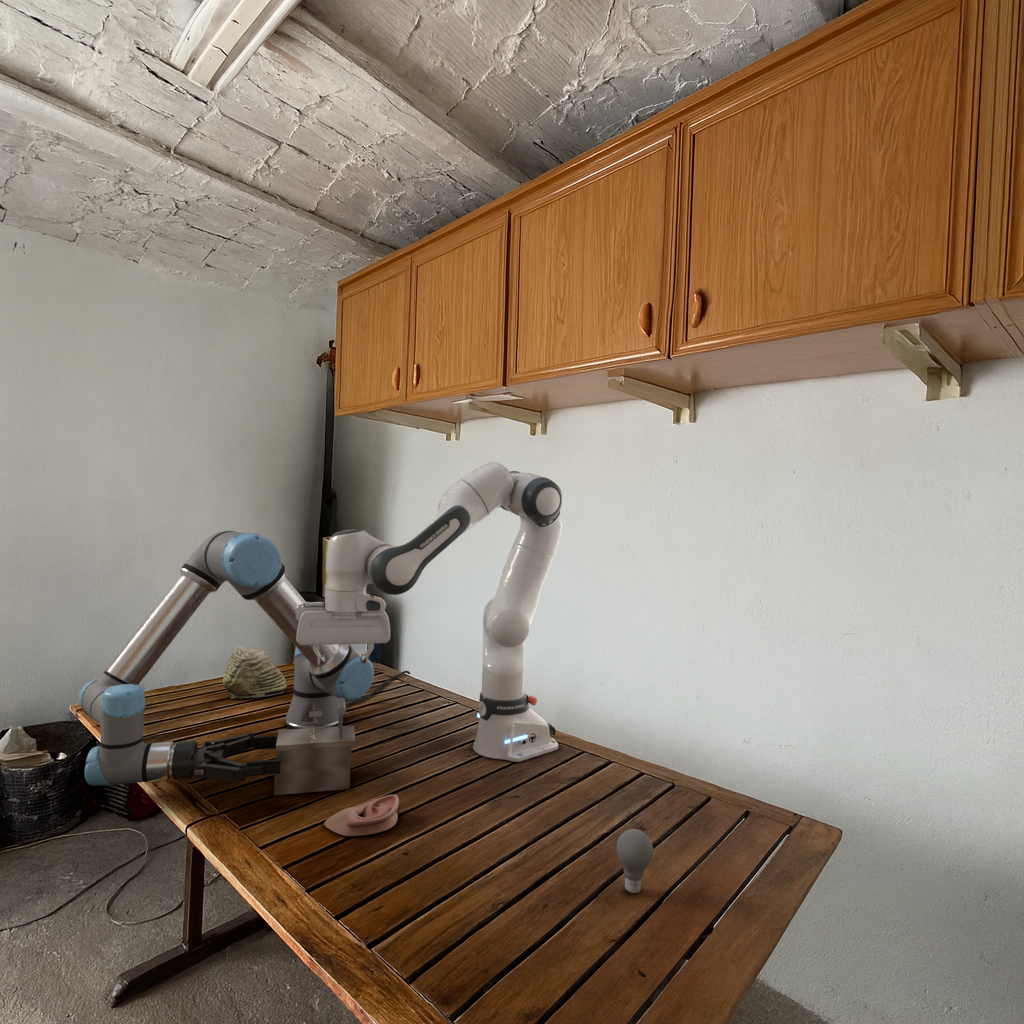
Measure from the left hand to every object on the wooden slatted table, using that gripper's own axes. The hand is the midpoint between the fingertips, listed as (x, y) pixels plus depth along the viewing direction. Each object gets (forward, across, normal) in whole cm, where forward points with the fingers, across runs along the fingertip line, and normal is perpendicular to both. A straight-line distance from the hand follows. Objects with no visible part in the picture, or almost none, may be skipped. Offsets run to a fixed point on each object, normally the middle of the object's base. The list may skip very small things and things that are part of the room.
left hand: (282, 753), depth 138 cm
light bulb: (+58, +51, -7) cm, 78 cm away
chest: (+7, 0, -7) cm, 10 cm away
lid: (+7, 0, +2) cm, 7 cm away
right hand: (+12, 0, +19) cm, 23 cm away
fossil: (-12, -66, -7) cm, 68 cm away
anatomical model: (+16, +20, -7) cm, 26 cm away
